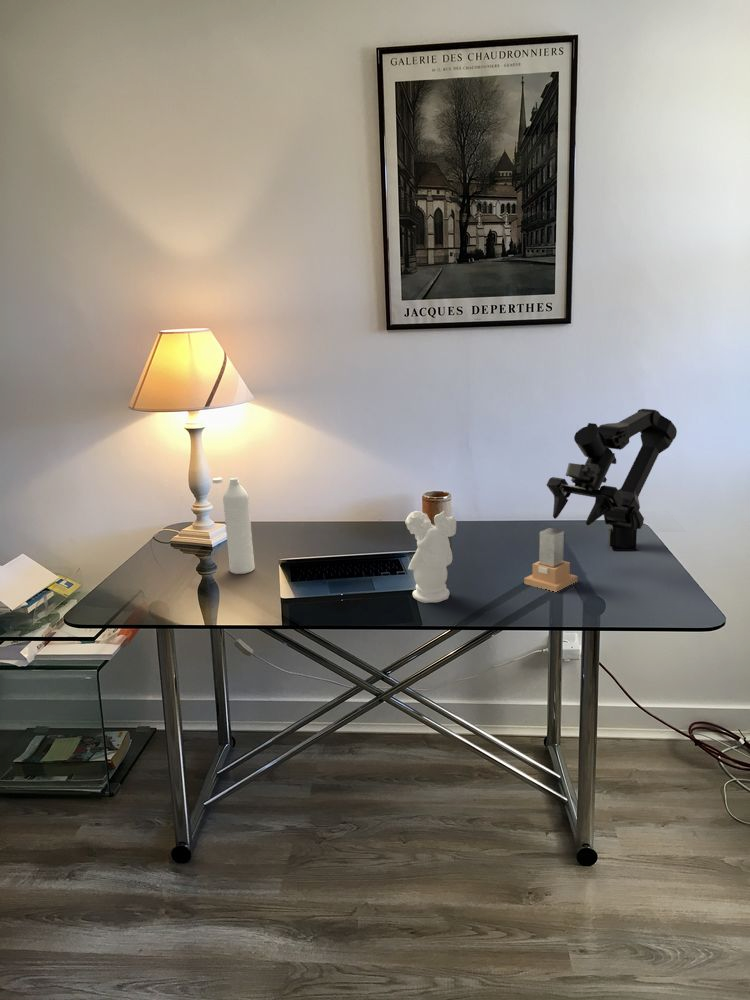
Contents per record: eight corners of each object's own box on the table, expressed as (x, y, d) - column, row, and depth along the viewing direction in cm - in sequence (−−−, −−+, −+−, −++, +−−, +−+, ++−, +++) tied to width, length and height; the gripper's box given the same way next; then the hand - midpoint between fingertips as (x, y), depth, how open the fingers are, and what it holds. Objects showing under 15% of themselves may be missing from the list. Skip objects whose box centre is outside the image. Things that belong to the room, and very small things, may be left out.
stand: (545, 573, 197) (545, 554, 195) (577, 581, 190) (577, 562, 189) (524, 583, 191) (524, 564, 189) (556, 592, 185) (556, 572, 183)
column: (548, 572, 193) (549, 527, 190) (563, 576, 190) (564, 531, 187) (538, 577, 190) (539, 531, 187) (553, 581, 187) (554, 535, 184)
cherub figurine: (402, 594, 188) (398, 505, 182) (442, 581, 195) (439, 495, 189) (435, 609, 178) (431, 515, 173) (475, 595, 185) (473, 504, 180)
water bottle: (256, 565, 212) (248, 474, 205) (252, 573, 206) (244, 480, 199) (224, 566, 212) (215, 475, 205) (219, 575, 206) (209, 482, 199)
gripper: (551, 445, 198) (524, 497, 194) (619, 454, 185) (592, 510, 181) (568, 470, 205) (543, 520, 201) (634, 480, 192) (609, 534, 188)
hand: (570, 521), depth 192 cm, fingers open, 9 cm apart
